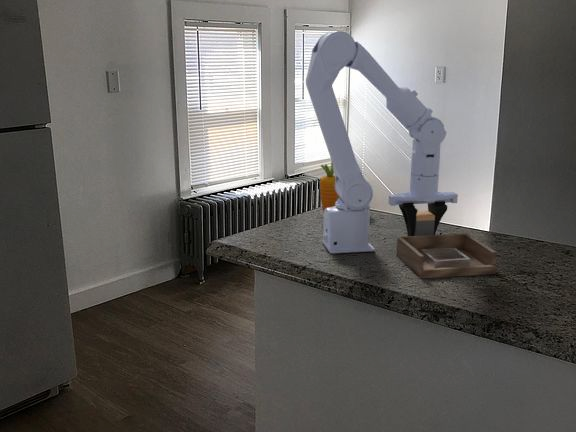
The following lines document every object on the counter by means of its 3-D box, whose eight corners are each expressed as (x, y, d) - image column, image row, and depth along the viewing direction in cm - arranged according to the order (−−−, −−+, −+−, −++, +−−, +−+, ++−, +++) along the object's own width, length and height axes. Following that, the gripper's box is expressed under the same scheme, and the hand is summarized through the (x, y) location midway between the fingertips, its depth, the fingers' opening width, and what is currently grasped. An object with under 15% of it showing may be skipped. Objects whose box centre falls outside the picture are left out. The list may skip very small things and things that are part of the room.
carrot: (325, 225, 147) (327, 163, 143) (315, 220, 151) (316, 160, 147) (343, 223, 149) (345, 161, 145) (332, 218, 153) (334, 158, 149)
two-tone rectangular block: (414, 248, 130) (416, 216, 128) (408, 242, 134) (409, 211, 132) (432, 247, 131) (435, 215, 129) (425, 241, 135) (427, 210, 133)
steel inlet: (434, 268, 116) (434, 261, 116) (420, 256, 123) (420, 249, 123) (470, 266, 117) (470, 259, 117) (454, 254, 124) (454, 247, 124)
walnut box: (420, 278, 113) (421, 257, 112) (396, 255, 125) (397, 236, 124) (496, 273, 115) (498, 253, 114) (465, 251, 128) (467, 233, 127)
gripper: (397, 178, 123) (394, 243, 127) (465, 176, 126) (460, 240, 129) (386, 172, 130) (383, 233, 133) (451, 170, 132) (446, 230, 136)
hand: (420, 236), depth 132 cm, fingers closed on two-tone rectangular block, 4 cm apart
